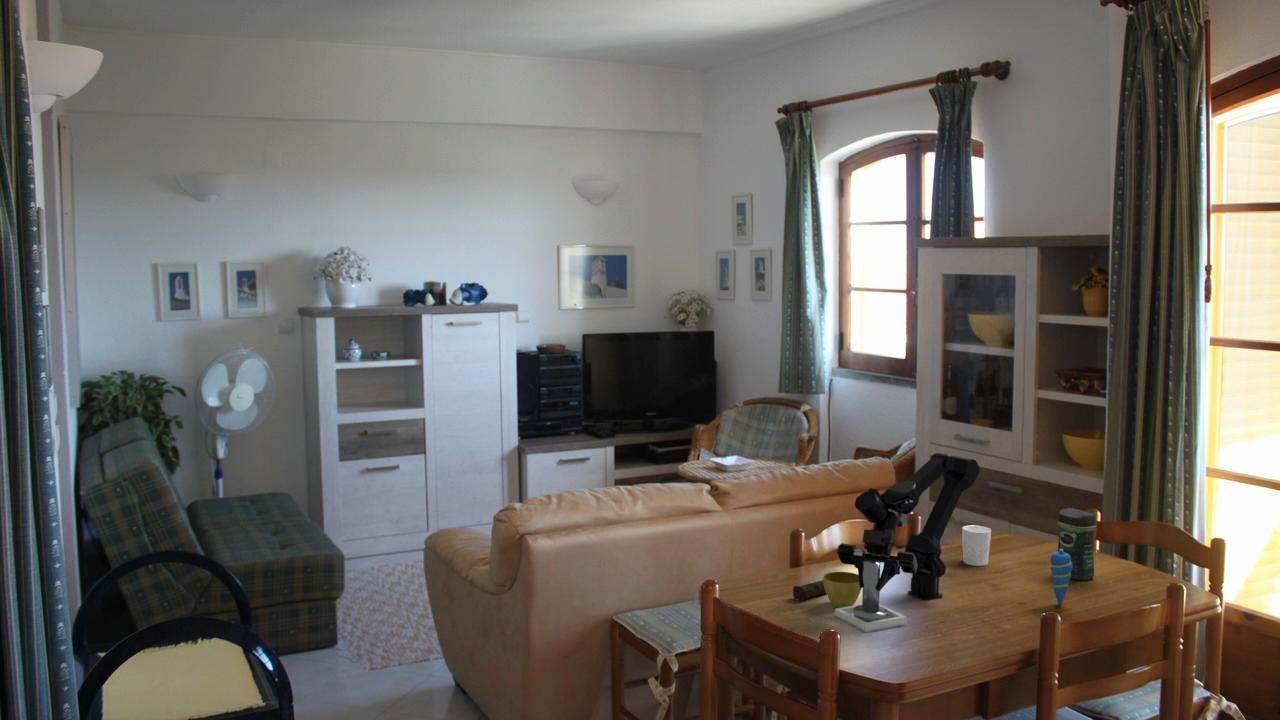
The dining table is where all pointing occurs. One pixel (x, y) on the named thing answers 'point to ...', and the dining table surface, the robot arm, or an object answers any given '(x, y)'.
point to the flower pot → (842, 588)
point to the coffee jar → (1077, 540)
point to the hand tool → (808, 590)
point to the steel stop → (870, 594)
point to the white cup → (976, 544)
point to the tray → (891, 622)
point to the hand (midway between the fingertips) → (869, 589)
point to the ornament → (1061, 573)
